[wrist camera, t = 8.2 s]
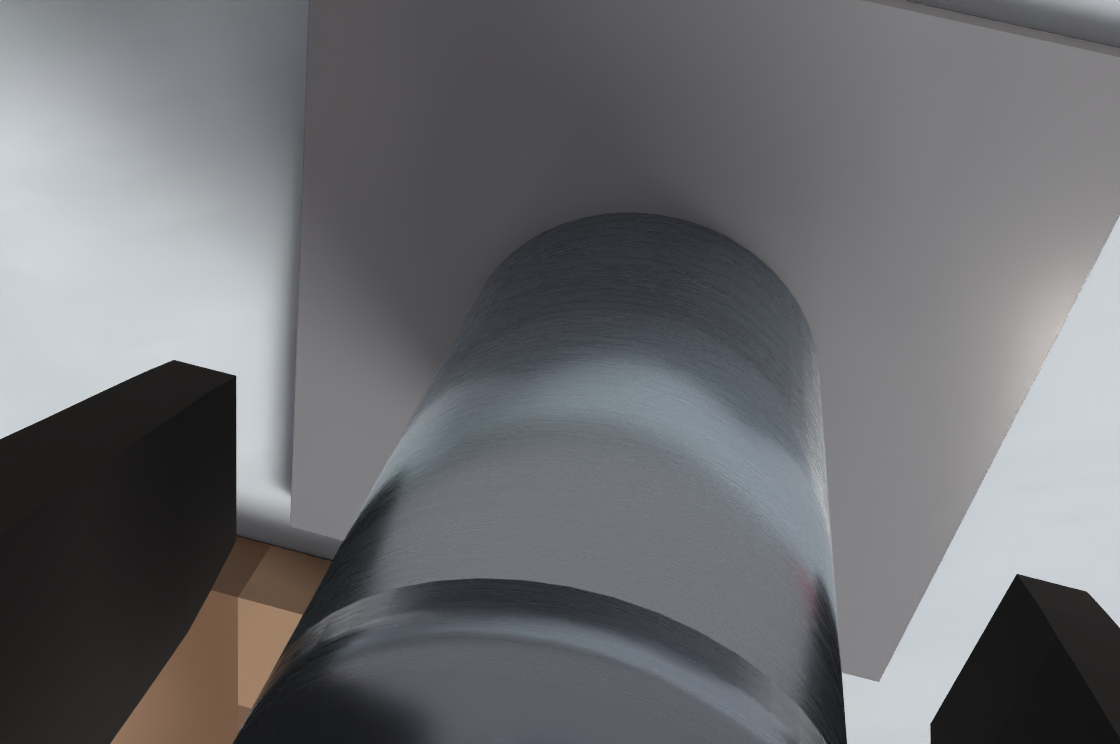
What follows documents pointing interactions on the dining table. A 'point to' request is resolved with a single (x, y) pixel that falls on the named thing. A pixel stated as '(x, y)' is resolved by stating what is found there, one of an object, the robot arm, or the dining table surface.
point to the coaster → (714, 221)
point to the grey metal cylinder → (590, 519)
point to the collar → (227, 648)
